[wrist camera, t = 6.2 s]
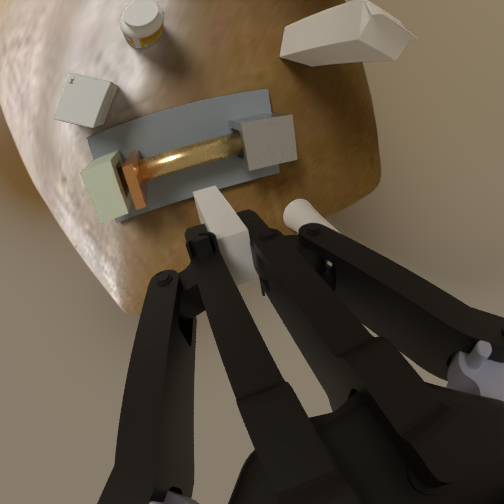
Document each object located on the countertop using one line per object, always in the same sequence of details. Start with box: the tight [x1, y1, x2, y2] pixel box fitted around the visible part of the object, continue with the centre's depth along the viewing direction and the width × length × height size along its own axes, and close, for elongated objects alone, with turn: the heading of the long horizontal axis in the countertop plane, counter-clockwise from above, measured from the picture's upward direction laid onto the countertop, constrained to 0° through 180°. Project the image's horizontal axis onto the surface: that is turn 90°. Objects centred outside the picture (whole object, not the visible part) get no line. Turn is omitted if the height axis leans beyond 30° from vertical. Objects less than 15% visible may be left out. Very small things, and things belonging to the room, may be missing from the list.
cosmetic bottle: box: [283, 199, 340, 233], centre depth 41 cm, size 6×6×22 cm
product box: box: [54, 73, 118, 128], centre depth 26 cm, size 6×6×7 cm
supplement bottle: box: [120, 0, 164, 48], centre depth 22 cm, size 5×5×10 cm
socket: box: [80, 150, 132, 224], centre depth 31 cm, size 7×4×8 cm, turn 9°
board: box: [87, 89, 280, 223], centre depth 37 cm, size 14×27×1 cm, turn 99°
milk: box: [279, 0, 419, 67], centre depth 25 cm, size 6×6×22 cm
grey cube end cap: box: [227, 112, 297, 171], centre depth 36 cm, size 6×7×7 cm
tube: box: [116, 132, 243, 210], centre depth 32 cm, size 5×20×10 cm, turn 99°
